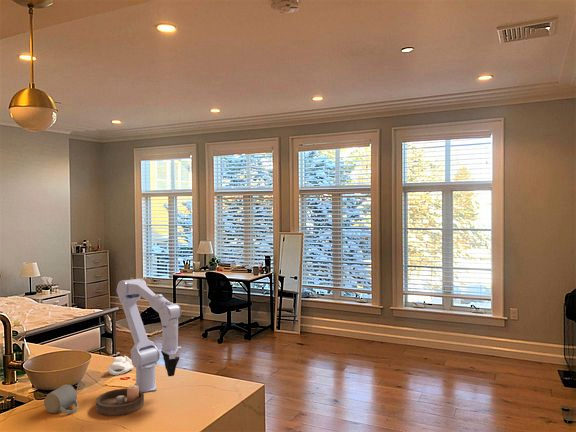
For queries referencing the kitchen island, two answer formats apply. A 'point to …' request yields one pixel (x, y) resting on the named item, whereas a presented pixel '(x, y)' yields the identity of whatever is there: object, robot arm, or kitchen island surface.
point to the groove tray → (117, 403)
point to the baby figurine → (120, 365)
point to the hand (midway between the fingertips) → (169, 372)
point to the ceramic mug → (61, 400)
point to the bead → (132, 393)
